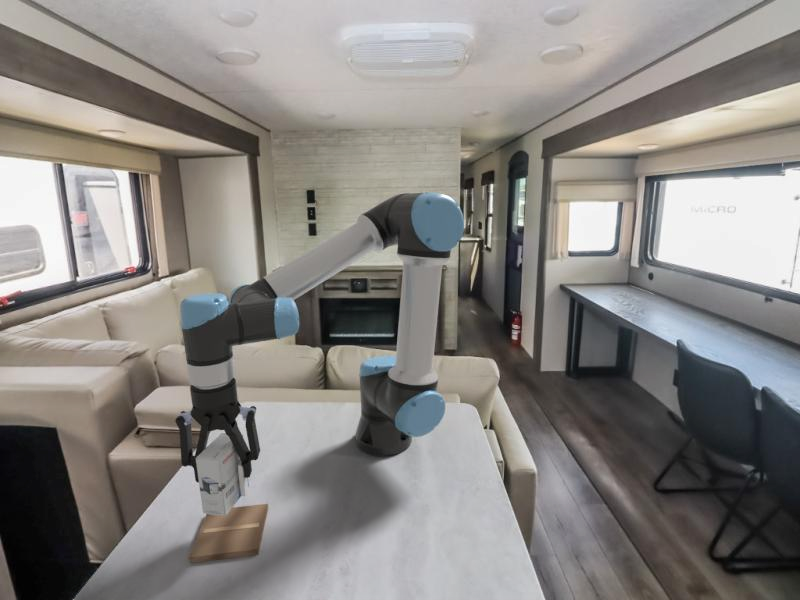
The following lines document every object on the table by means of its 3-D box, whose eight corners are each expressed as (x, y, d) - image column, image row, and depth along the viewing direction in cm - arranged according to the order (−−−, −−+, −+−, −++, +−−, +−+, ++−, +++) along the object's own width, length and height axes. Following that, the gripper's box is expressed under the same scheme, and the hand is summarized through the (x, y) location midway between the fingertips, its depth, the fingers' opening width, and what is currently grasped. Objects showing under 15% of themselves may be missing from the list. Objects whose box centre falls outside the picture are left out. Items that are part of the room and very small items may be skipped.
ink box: (228, 484, 86) (220, 431, 83) (251, 486, 85) (244, 433, 82) (202, 514, 78) (192, 457, 75) (227, 517, 77) (219, 459, 74)
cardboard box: (268, 508, 90) (267, 503, 90) (258, 554, 79) (257, 548, 78) (208, 515, 88) (208, 509, 88) (189, 562, 77) (188, 557, 77)
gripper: (271, 369, 81) (280, 475, 86) (164, 375, 78) (180, 485, 84) (264, 386, 74) (274, 501, 79) (146, 393, 71) (165, 512, 76)
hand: (226, 492), depth 81 cm, fingers closed on ink box, 6 cm apart
